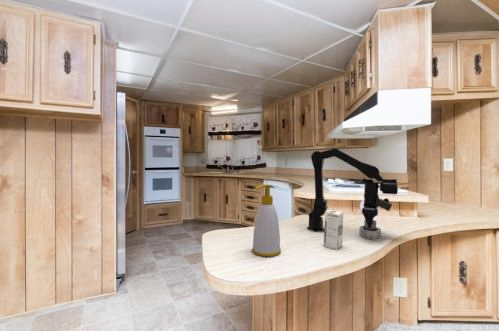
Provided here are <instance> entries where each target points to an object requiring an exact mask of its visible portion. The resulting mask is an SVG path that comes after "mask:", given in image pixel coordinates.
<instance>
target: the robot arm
mask: <svg viewBox="0 0 499 331" xmlns="http://www.w3.org/2000/svg"><path fill="white" fill-rule="evenodd" d="M333 157H334V158H337V159H339V160H341V161H343V162H344V163H346V164H348V165H350V166H352V167H353V168H355V169H357V170H358V171H360V173H362V174H363V175H364V176H365V177H366V178H368V179H366V178H365V177H363V178H362V179H361V180H360V183H361V184H364V188H363V189H364V190H363V191H364V192H363V207H362V208H361V214H362V215H363V218H364V220H366V222H367V225H368V227H369V228H371V226H372V222H373V220H374V219H375V217H377V216H378V215H379V208H381V209H383V210H385V211H387V212H390V210H391V208H392V206H393V203H392V202H390V200H389V199H388V198H387V197H385V198H384V199H383V198H380V197H379V192H381V193H382V194H385V195H398V191H399V188H398V179H396V178H391V179H389V178H383V176H381V175H380V170H379V168H378V167H377V166H376V165H375V166H374V165H372V164H369V163H366V162H363V161H360V160H359V159H356V158H355V157H353V156H351V155H349V154H347V153H345V152H344V151H341V150H340V149H338V148H336V147H334V148H332V149H331V148H330V149H328V150H324V151H318V150H316V151H314V152H312V153H311V155H310V158H311V162H312V167H313V169H314V172H313V173H314V195H315V196H314V197H315V198H314V202H313V209H312V210H311V211H310V212H309V213H308V226H307V227H306V229H307V230H310V231H312V232H320V231H324V220H323V216H325V212H327V211H328V209H329V208H328V207H329V206H328V201H329V200H328V199H326V198H325V196H324V194H325V193H324V174H323V172H324V171H323V169H324V164H325V159H329V158H333ZM374 180H376V181H374Z"/></svg>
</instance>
